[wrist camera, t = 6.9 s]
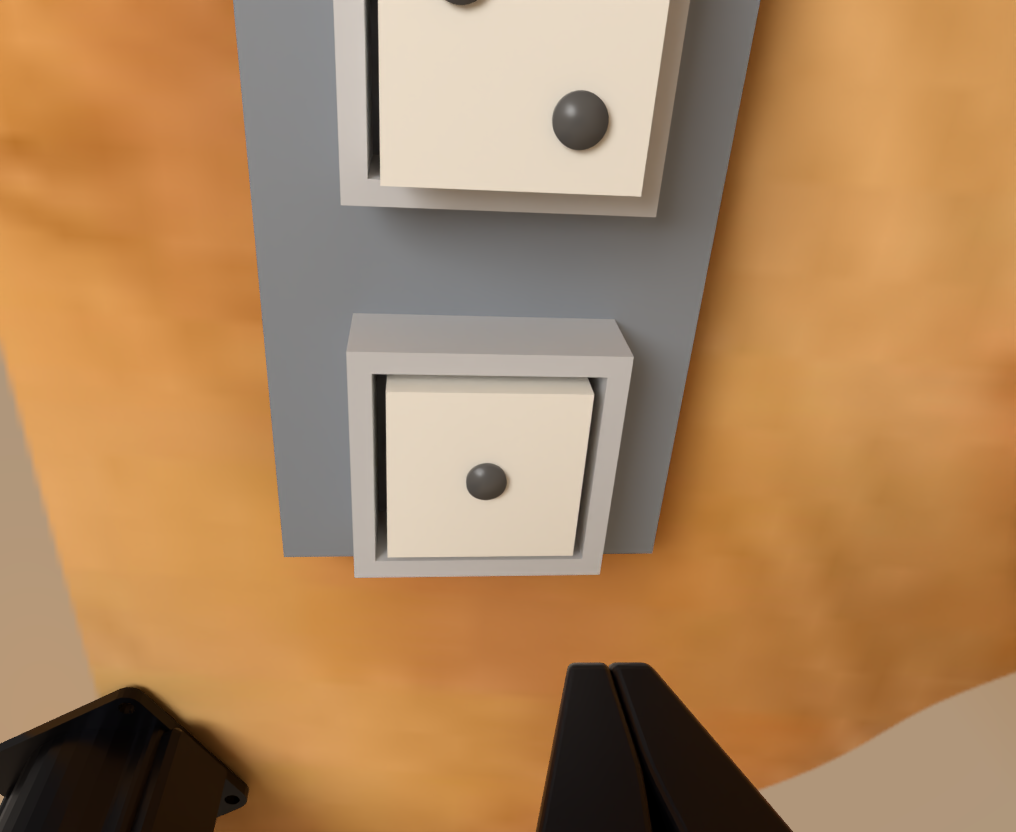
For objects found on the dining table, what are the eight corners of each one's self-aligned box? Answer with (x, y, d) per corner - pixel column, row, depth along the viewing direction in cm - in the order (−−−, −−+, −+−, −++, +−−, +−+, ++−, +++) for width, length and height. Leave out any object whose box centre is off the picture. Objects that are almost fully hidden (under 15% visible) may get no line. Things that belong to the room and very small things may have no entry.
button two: (616, 168, 16) (643, 199, 14) (384, 158, 15) (380, 187, 13) (651, -103, 13) (688, -110, 12) (382, -126, 13) (375, -136, 11)
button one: (560, 506, 21) (573, 559, 19) (389, 506, 21) (387, 561, 19) (578, 353, 19) (595, 398, 17) (389, 350, 19) (385, 395, 17)
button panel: (635, 510, 24) (671, 603, 21) (294, 511, 23) (272, 610, 20) (899, -980, 12) (1104, -1371, 8) (160, -1140, 10) (32, -1676, 7)
